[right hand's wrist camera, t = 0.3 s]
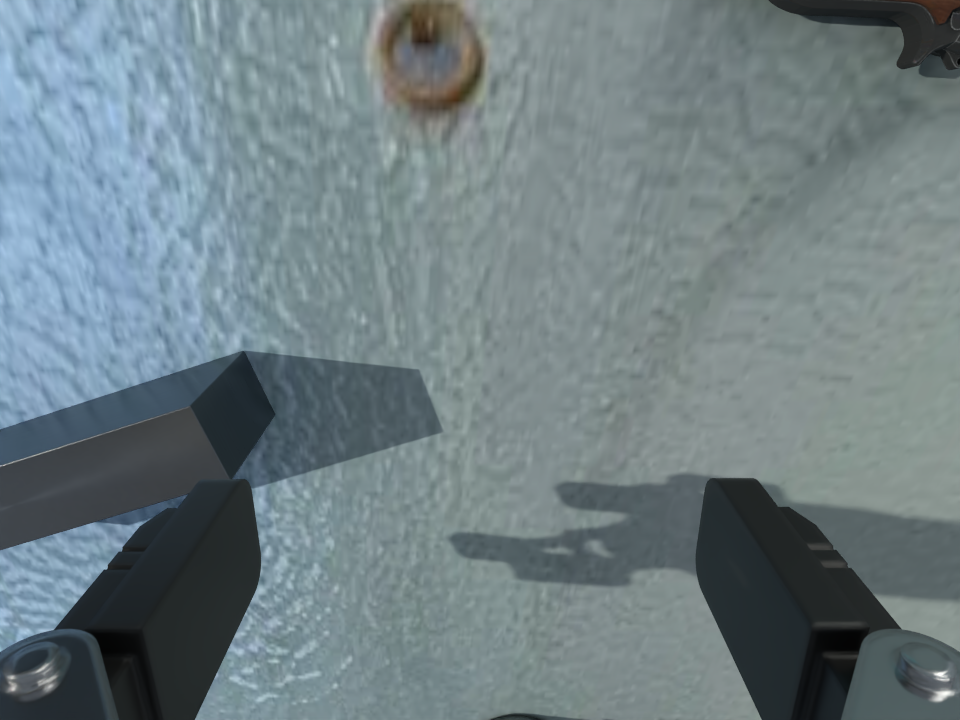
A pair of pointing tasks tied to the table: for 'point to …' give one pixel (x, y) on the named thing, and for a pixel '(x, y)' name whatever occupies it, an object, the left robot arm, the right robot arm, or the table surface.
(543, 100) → the table surface
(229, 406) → the bar
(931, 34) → the handgun
